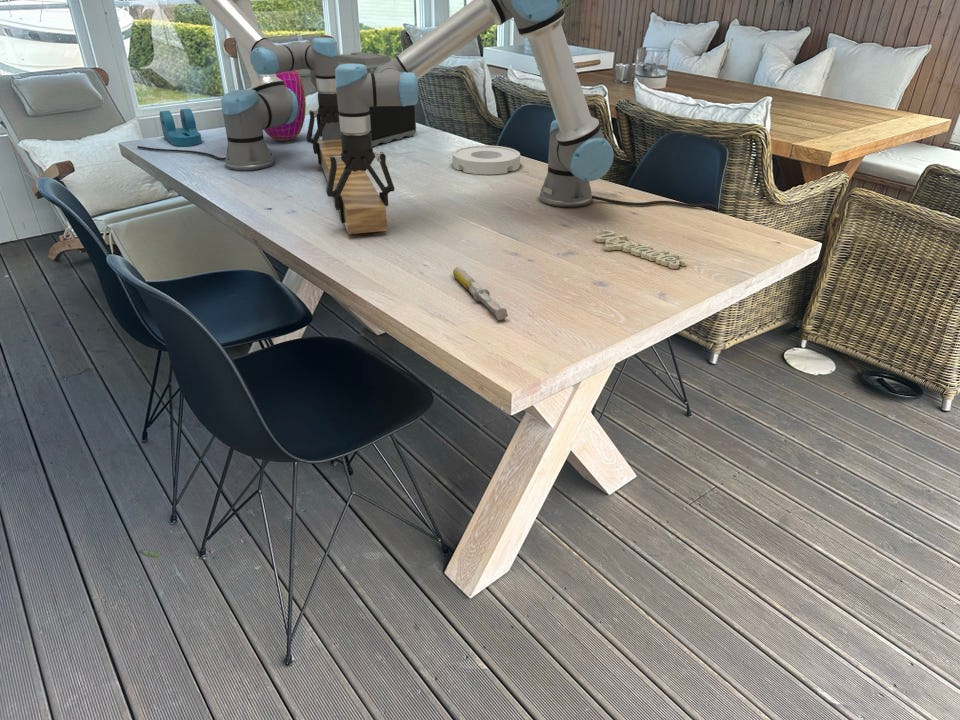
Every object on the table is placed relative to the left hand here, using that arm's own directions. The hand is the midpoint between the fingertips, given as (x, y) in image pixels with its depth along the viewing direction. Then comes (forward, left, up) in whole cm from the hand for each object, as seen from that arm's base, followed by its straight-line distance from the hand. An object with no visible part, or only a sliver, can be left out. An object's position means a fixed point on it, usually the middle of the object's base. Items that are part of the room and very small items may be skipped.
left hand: (336, 162), depth 229 cm
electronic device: (-6, +43, -2) cm, 44 cm away
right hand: (+30, -51, 0) cm, 59 cm away
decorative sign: (+100, -51, -2) cm, 112 cm away
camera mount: (-71, +22, -2) cm, 75 cm away
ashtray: (+47, +18, -2) cm, 51 cm away
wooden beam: (+15, -25, -1) cm, 29 cm away
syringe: (+69, -85, -2) cm, 110 cm away
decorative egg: (-36, +33, -2) cm, 49 cm away
